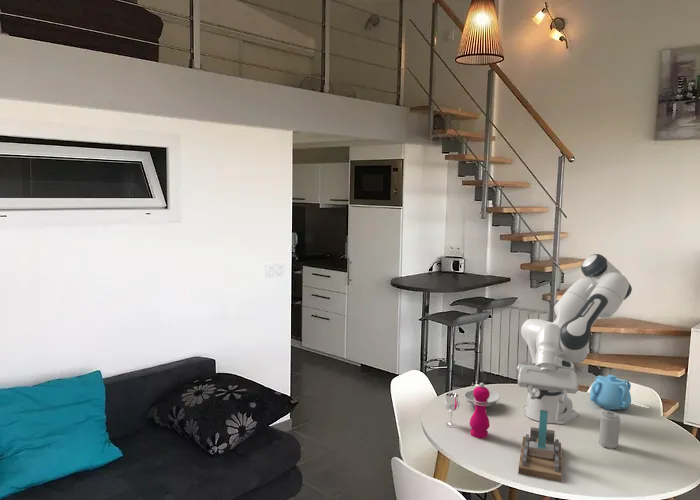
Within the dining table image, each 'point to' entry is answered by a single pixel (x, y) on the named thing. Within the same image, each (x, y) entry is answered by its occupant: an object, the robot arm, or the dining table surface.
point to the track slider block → (541, 440)
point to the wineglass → (451, 406)
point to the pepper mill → (480, 413)
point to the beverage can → (609, 429)
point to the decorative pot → (611, 392)
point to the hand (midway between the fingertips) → (546, 400)
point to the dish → (491, 400)
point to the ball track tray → (538, 464)
